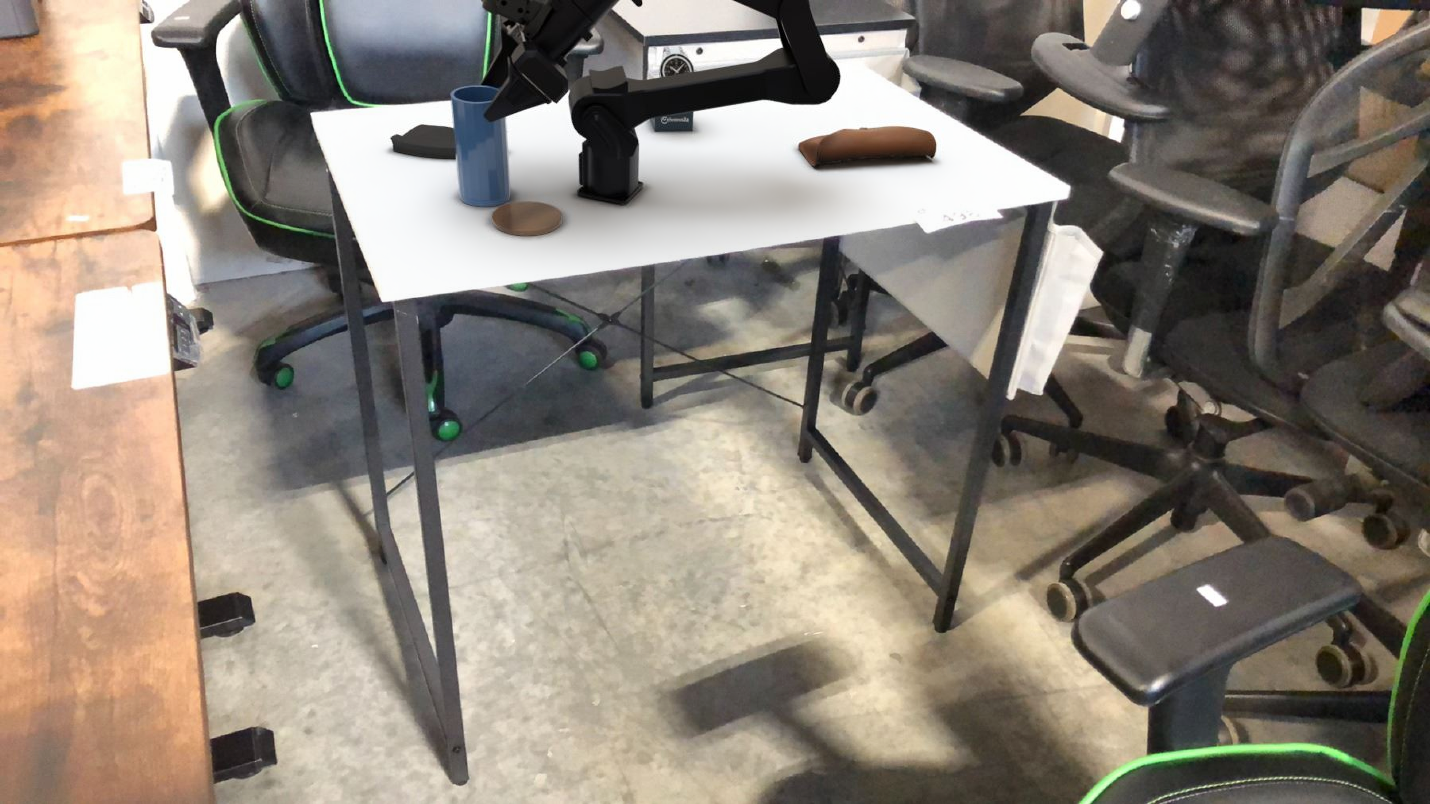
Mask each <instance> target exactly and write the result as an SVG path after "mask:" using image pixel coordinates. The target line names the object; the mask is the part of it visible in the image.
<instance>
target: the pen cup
mask: <svg viewBox="0 0 1430 804" xmlns="http://www.w3.org/2000/svg"><path fill="white" fill-rule="evenodd" d="M499 90H500V88H494V87H490V86H481V85H480V84H479V85H465V86H461V87H457V88H455V89H454V90H452V91H451V92H450V94H449V97H450V108H451V110H450V111H451V119H452V128H453V131H454V142H455V153H456V158H455V163H456V164H455V165H456V173H457V184H458V186H457V187H458V192H459V193H458V194H459V199H460V200H461V202H462V203H464V204H466V205H469V206H473V207H481V208H483V207H484V208H487V207H489V208H490V207H497V206H499V205H503V204H504V203H507V202H508V201H509V200H510V199H511V173H510V158H509V157H510V155H509V140H508V139H509V138H508V125H507V124H508V122H507V117H504V118H502V119H499V120H496V121H494V122H489V121H487V120H486V119H485V118H484V116H483V114H484V113H485V111H486V109H487V108H488V106H489V105H490V103H491V102H492V100H493V99H494V97H495V96H496V94H497V93H498V91H499Z"/></svg>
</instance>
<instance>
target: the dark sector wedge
mask: <svg viewBox="0 0 1430 804" xmlns="http://www.w3.org/2000/svg"><path fill="white" fill-rule="evenodd" d="M389 139H390V140H391V143H392V150H393V152H398V153H403V154H405V155H411V156H416V157H422V158H431V159H456V153H455V142H454V131H453V126H452V127H451V126H446V125H435V124H424V123H421V124H418V125H415V126H413V127H412V128H411V129H409V130H408V131H407V132H405V133H404V134H403V135H401V134H398V133H396V134H394V135H392V136H390V137H389Z"/></svg>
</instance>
